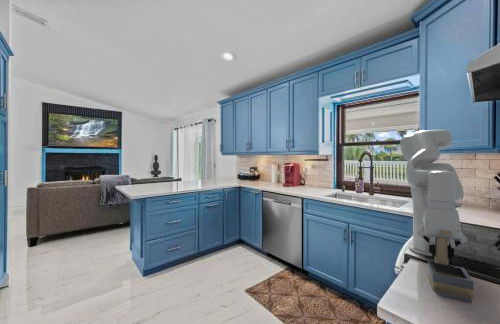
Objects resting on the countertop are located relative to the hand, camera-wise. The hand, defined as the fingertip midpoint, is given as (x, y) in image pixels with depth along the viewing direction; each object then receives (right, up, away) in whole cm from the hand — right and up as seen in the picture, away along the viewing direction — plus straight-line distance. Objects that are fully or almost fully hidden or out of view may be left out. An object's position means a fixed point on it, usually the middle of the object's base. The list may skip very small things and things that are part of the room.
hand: (441, 256), depth 80 cm
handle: (0, -5, 0) cm, 5 cm away
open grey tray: (-6, -5, -10) cm, 13 cm away
